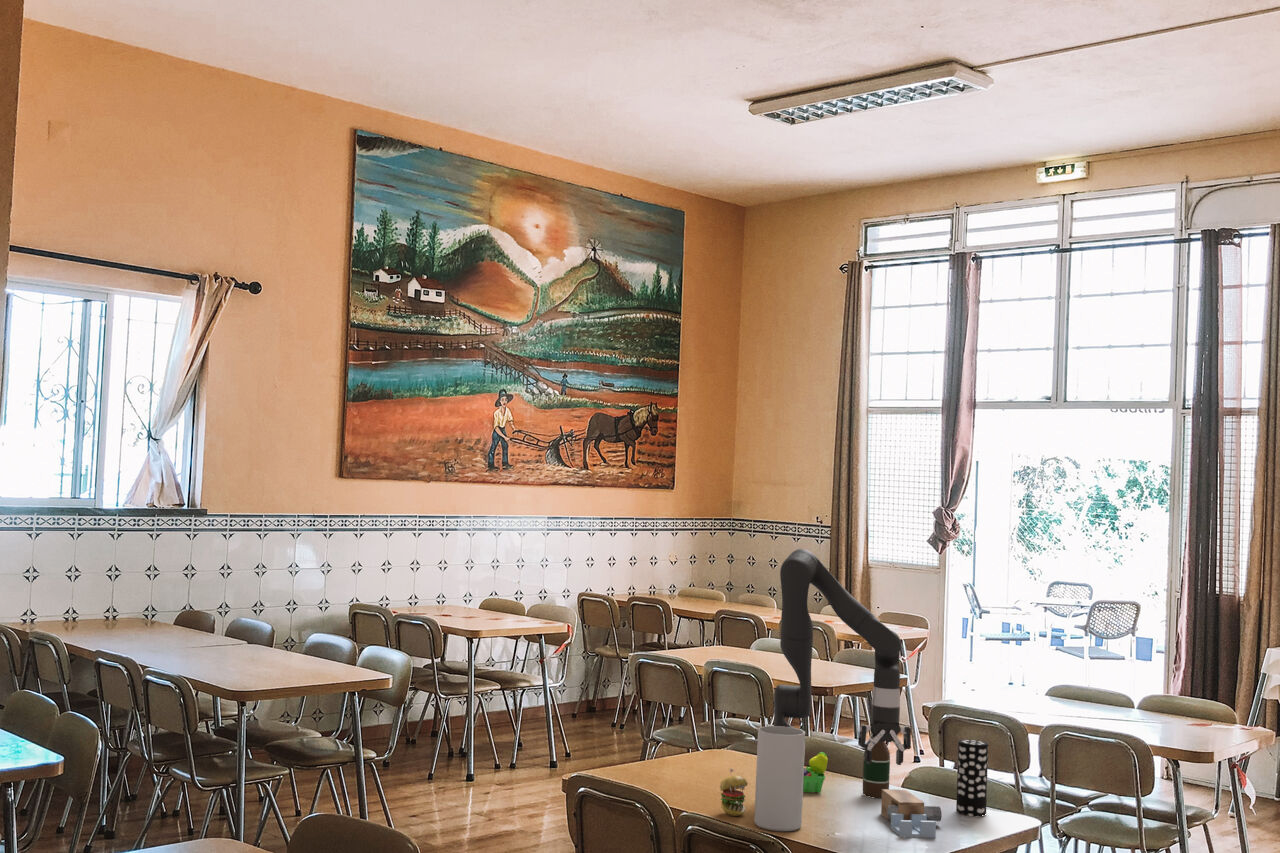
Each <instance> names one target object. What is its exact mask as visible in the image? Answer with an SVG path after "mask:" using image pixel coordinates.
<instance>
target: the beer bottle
mask: <svg viewBox="0 0 1280 853" xmlns="http://www.w3.org/2000/svg"><path fill="white" fill-rule="evenodd" d="M871 735H872V732H871V734H870V736H871ZM871 750H872V762H871V764H868V763H867V762H866V761H865V750H864V751H863V752H864V753H863V766H862V767H863V768H862V770H863V771H862V794H865V795H866V796H865V795H864V796H865V797H867V796H870V797H869V798H871V797H874V798H873V799H882V789H890V773H891V772H890V770H891V768H890V766H891V753H890V749H889V747H888V745H887V744H886V741H885V742H880V741H878V742H877V743H876V744H875V745H874V746H873V748H872V749H871Z"/></svg>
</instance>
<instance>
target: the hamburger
mask: <svg viewBox="0 0 1280 853" xmlns="http://www.w3.org/2000/svg"><path fill="white" fill-rule="evenodd" d="M729 772H730V774H732V773H733V772H735V769H733V768H729ZM719 786H720V787H719V789H720V791H721V794H720V796H721V798H720V800H721V804H720V806H721V808H722V810H723V812H724V813H726V814H728V815H730V816H733V817H740V816H742V815H743V814H744V813H745V812H746V807H745V805H744V802H746V799H745V798H746V795H745V794H744V791H745V787H747V786H748V782H747V779H746V778H745V777H743V776H741V775H735V774H734V775H730V776H728V777H725V778H724V779H723V780H721V782H720V785H719Z"/></svg>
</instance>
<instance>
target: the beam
mask: <svg viewBox="0 0 1280 853" xmlns="http://www.w3.org/2000/svg"><path fill="white" fill-rule="evenodd" d="M888 805H898V814H903V820H911V814H924V806H925V802H924V801H923V800H922V799H919V798H918V797H917V796H916V795H915V794H912V793H911V792H909V791H908V790H907V789H890V788H889V789H882V798H881V805H880V806H881V807H880V809H881V810H880V814H881V816H883V817H884V816H885V817H884V818H886V819H887V820H888V821H889V819H888V816H887V808H888ZM889 822H891V820H890V821H889Z"/></svg>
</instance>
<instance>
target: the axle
mask: <svg viewBox="0 0 1280 853" xmlns="http://www.w3.org/2000/svg"><path fill="white" fill-rule="evenodd" d="M891 813H894V814H898V805H888V808H887V816H888V819H889V820H891ZM924 814H926V815H927V821H935V822H936V823H938V822H941V820H942V818H943V817H942V814H943V813H942V809H941V806H939V805H924ZM888 819H887V820H888ZM889 820H888V821H889Z"/></svg>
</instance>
